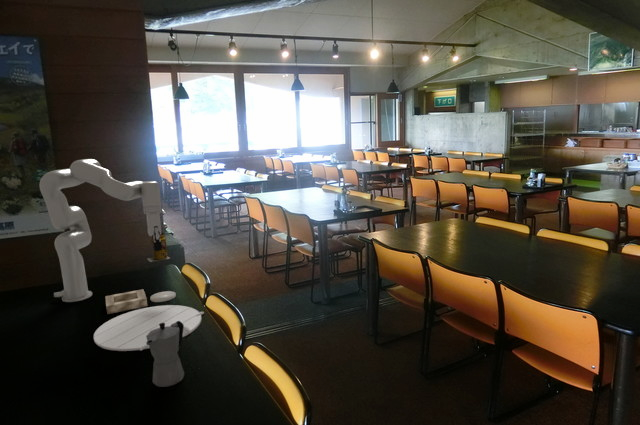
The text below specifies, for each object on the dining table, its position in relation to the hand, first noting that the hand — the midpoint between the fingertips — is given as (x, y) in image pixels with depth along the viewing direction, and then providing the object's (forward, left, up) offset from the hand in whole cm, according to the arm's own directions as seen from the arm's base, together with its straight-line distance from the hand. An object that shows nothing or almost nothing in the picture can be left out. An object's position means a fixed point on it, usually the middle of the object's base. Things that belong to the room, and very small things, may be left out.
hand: (157, 248), depth 203 cm
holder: (-15, 0, -23) cm, 28 cm away
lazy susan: (-9, -31, -24) cm, 40 cm away
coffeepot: (-7, -74, -23) cm, 78 cm away
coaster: (0, 0, -23) cm, 23 cm away
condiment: (0, 0, -5) cm, 5 cm away
